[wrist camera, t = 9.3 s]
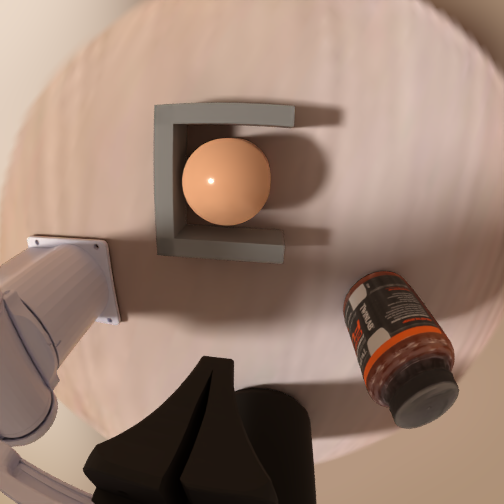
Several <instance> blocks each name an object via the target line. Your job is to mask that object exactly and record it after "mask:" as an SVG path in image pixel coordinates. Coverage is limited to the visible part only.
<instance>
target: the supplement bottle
mask: <svg viewBox="0 0 504 504" xmlns="http://www.w3.org/2000/svg"><path fill="white" fill-rule="evenodd" d="M343 312H344V318H345V323H346V326H347V329H348V332H349V334H350V337H351V340H352V343H353V346H354V349H355V352H356V355H357V359H358V362H359V366H360V368H361V372H362V375H363V379H364V381H365V384H366V388H367V390H368V393H369V395H370V396H371V398H372V399H373V400H374V401H375V402H376V403H378V404H380V405H381V406H385V407H389V408H390V411H391V413H392V416H393V418H394V421H395V423H396V425H397V426H399V427H401V428H406V429H411V428H417V427H420V426H423V425H426V424H427V423H430V422H432V421H434V420H435V419H437V418H438V417H440V416H441V415H443V414H444V413H445V412H446V411H447V410H448V409H449V408H450V407H451V406H452V405H453V403H454V402H455V400H456V399H457V396H458V392H459V389H458V385H457V383H456V382H455V380H454V377H453V374H452V373H451V371H452V368H453V365H454V349H453V346H452V344H451V342H450V340H449V339H448V337H447V336H446V334H445V333H444V331H443V330H442V328H441V327H440V325H439V324H438V323H437V321H436V320H435V318H434V317H433V316H432V314H431V313H430V311H429V310H428V309H427V307H426V306H425V305H424V303H423V302H422V301H421V299H420V298H419V297H418V295H417V294H416V293H415V291H414V290H413V289H412V288H411V286H410V285H409V284H408V283H407V282H406V281H405V279H404V278H402V277H401V276H400V275H398V274H396V273H393V272H388V271H381V272H375V273H372V274H369V275H367V276H365V277H363V278H362V279H360V280H359V281H358V282H357V283H356V284H355V285H354V286H353V287H352V288H351V289H350V291H349V293H348V294H347V296H346V298H345V302H344V307H343Z"/></svg>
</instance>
